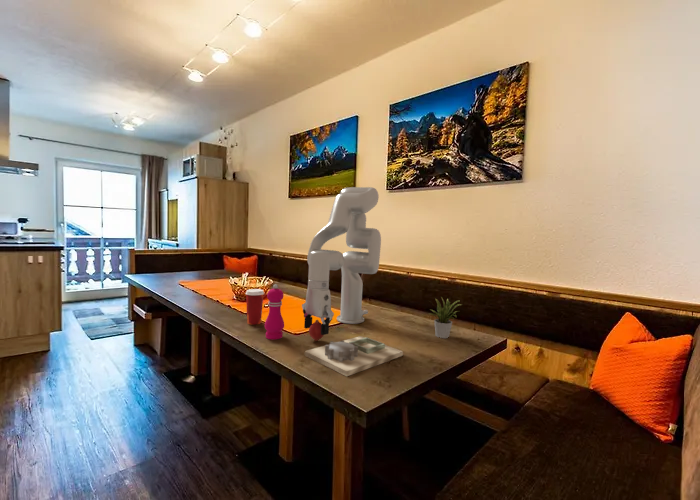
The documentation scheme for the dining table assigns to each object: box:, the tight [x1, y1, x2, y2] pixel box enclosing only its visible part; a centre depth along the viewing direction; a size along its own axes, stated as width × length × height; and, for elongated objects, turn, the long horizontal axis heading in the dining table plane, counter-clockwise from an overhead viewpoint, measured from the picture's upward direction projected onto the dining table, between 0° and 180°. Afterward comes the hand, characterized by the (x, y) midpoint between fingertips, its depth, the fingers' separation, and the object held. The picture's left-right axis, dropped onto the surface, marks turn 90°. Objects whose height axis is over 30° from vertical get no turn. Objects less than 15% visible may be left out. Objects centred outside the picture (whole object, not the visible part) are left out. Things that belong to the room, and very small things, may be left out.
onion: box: [308, 319, 325, 342], centre depth 127 cm, size 6×6×8 cm
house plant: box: [427, 296, 463, 339], centre depth 138 cm, size 14×14×16 cm
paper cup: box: [245, 288, 265, 326], centre depth 146 cm, size 8×8×14 cm
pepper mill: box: [264, 283, 285, 340], centre depth 129 cm, size 7×7×20 cm
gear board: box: [304, 335, 404, 377], centre depth 114 cm, size 26×20×4 cm
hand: (316, 331), depth 126 cm, fingers open, 9 cm apart
